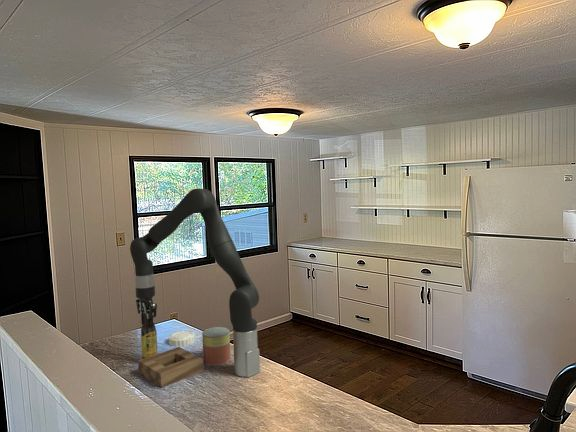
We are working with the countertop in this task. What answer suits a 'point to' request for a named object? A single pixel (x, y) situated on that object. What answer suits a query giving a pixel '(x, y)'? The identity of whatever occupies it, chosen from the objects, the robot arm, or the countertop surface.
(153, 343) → the sauce bottle
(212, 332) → the canned food
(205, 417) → the countertop surface
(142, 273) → the robot arm
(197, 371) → the square wooden frame
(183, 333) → the cream scalloped thick disc
